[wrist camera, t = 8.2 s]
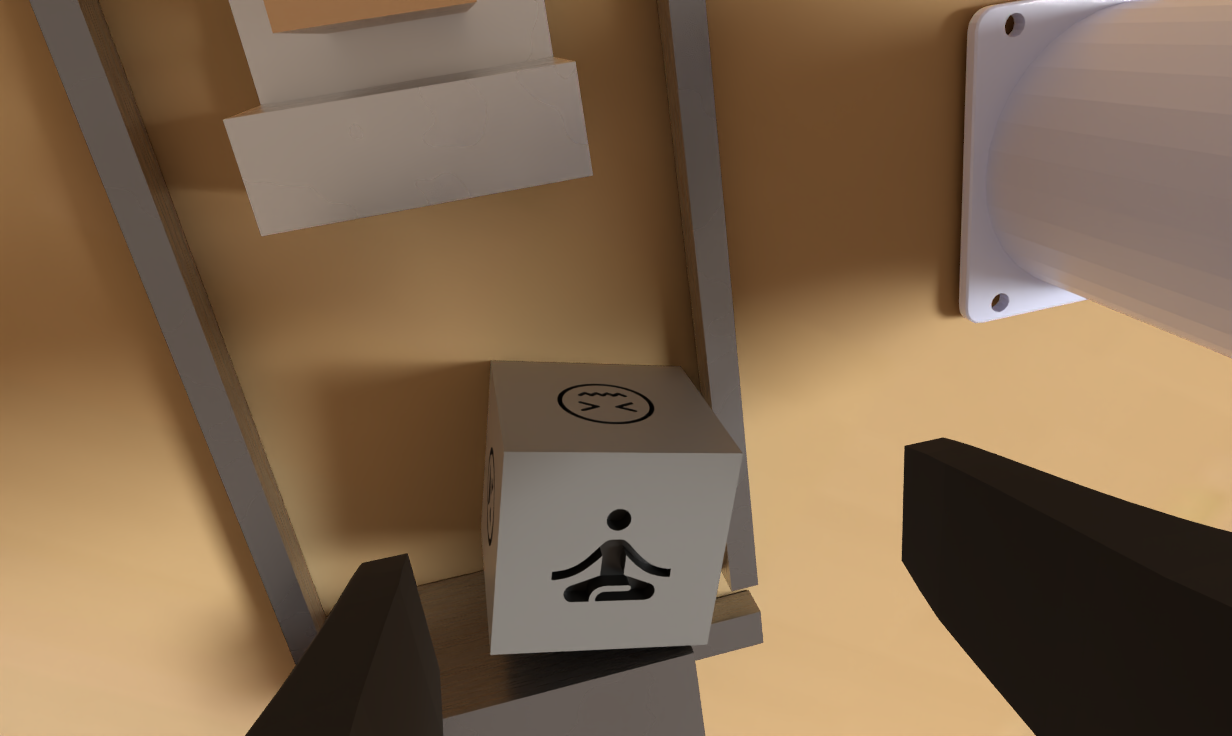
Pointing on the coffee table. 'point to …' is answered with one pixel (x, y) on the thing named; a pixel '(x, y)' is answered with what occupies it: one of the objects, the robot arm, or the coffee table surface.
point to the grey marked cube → (602, 507)
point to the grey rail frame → (456, 608)
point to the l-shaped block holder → (400, 106)
